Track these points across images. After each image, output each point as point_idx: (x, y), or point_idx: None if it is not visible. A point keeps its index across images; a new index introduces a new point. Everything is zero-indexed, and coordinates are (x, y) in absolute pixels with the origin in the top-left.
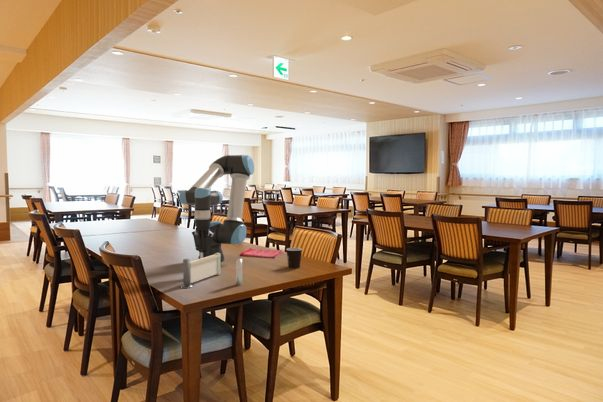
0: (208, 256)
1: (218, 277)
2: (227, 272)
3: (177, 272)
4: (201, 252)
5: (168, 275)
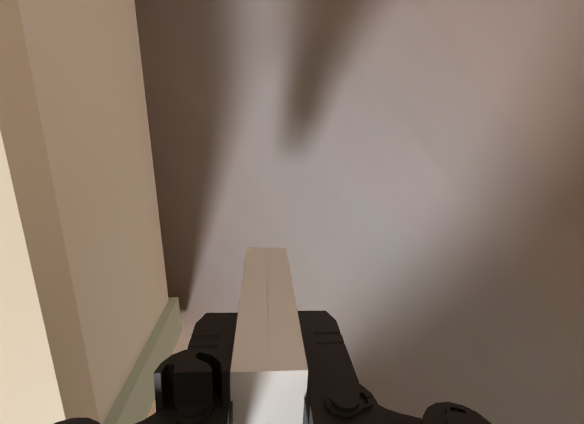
0: (13, 302)
1: None
2: (153, 401)
3: (546, 210)
4: (281, 386)
5: (566, 87)
